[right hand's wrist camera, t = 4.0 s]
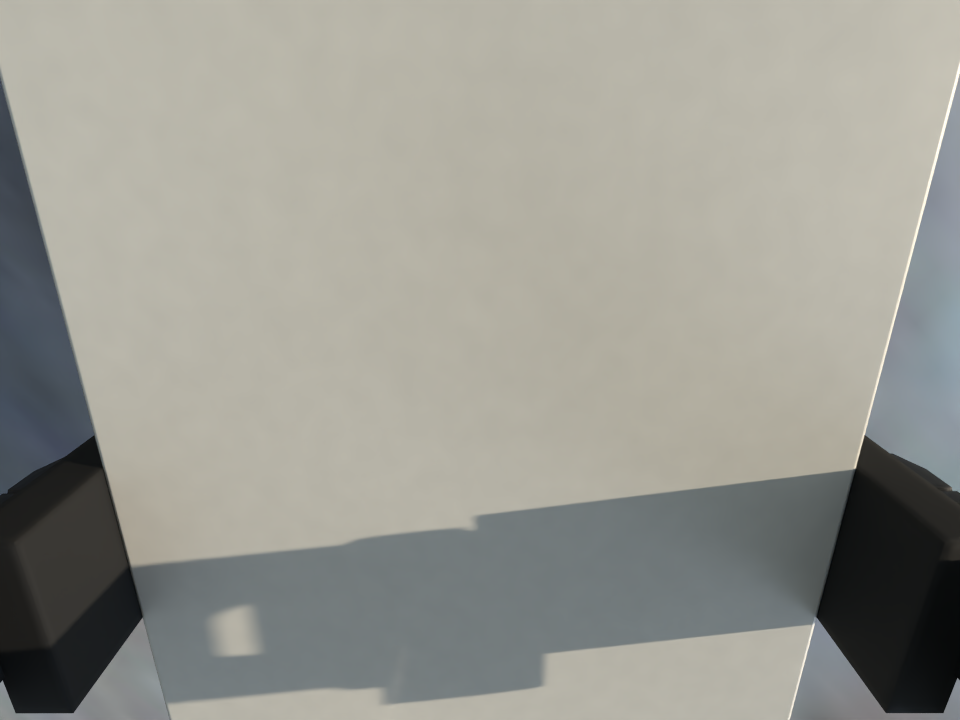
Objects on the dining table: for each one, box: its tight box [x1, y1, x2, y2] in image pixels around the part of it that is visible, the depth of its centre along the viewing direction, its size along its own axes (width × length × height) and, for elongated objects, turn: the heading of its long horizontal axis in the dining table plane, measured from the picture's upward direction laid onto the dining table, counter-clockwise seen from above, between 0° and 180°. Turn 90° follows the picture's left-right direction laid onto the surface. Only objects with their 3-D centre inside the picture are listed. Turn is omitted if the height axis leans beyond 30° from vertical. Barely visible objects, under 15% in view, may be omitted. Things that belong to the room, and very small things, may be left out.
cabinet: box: [0, 0, 960, 720], centre depth 11 cm, size 21×11×10 cm, turn 0°
